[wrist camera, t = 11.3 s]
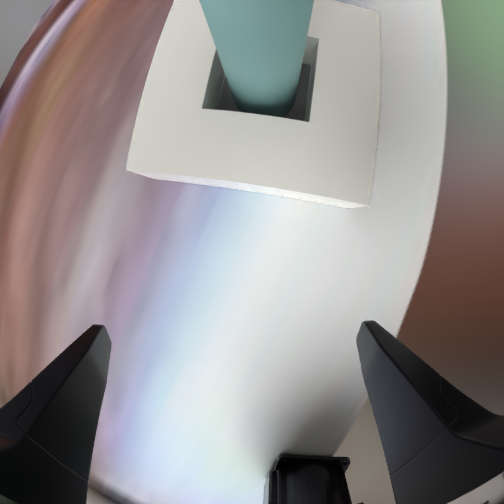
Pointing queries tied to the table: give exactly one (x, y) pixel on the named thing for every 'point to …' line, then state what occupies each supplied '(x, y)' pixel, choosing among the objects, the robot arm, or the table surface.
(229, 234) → the table surface
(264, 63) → the pin
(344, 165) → the socket block
